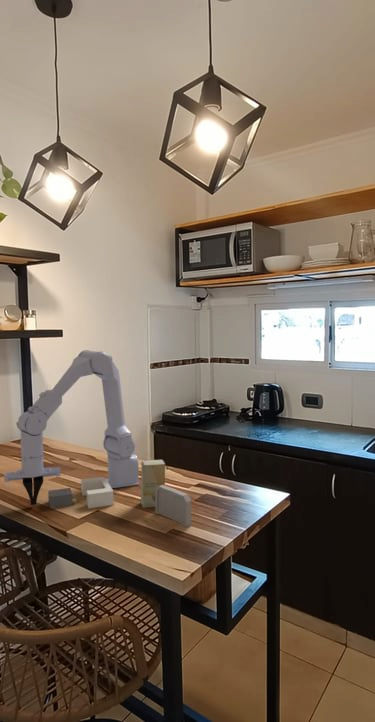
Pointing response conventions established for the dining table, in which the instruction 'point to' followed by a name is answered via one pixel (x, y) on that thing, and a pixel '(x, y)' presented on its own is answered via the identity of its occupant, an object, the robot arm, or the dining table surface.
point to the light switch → (173, 504)
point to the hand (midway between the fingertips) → (33, 503)
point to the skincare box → (151, 480)
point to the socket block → (97, 492)
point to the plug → (61, 497)
